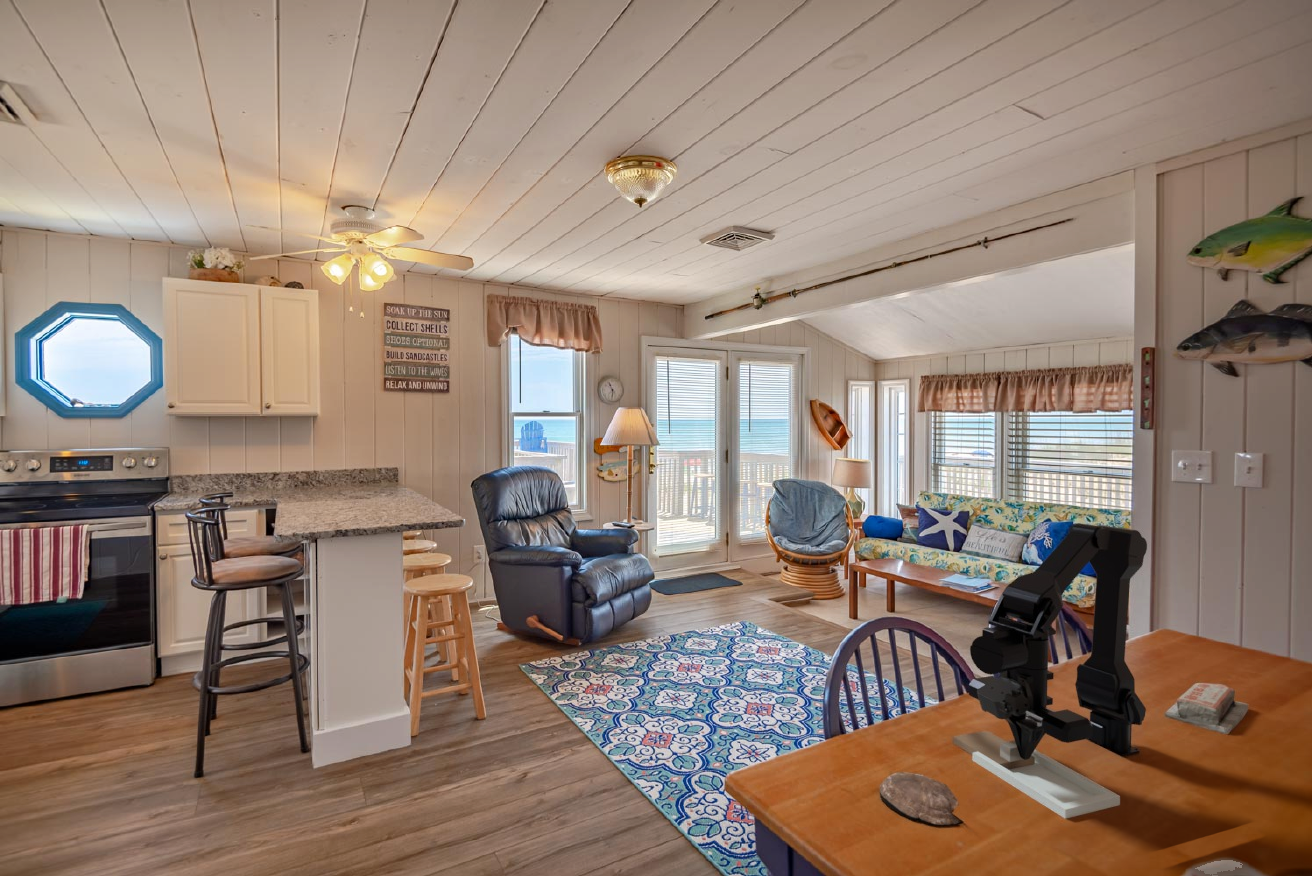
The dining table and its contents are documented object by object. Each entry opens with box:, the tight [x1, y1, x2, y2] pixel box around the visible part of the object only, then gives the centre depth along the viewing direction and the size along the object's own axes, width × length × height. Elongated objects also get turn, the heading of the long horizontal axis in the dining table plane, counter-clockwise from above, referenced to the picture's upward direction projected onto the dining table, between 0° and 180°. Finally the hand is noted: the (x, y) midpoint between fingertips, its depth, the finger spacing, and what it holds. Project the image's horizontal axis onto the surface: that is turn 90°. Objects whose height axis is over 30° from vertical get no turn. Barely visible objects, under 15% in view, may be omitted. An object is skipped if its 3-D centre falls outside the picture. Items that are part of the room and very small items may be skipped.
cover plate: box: [952, 730, 1035, 769], centre depth 113 cm, size 8×10×3 cm
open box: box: [971, 749, 1121, 820], centre depth 104 cm, size 11×17×3 cm, turn 19°
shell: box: [878, 771, 964, 827], centre depth 101 cm, size 12×13×4 cm
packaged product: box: [1164, 682, 1250, 735], centre depth 133 cm, size 18×5×10 cm
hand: (1024, 758), depth 107 cm, fingers closed
